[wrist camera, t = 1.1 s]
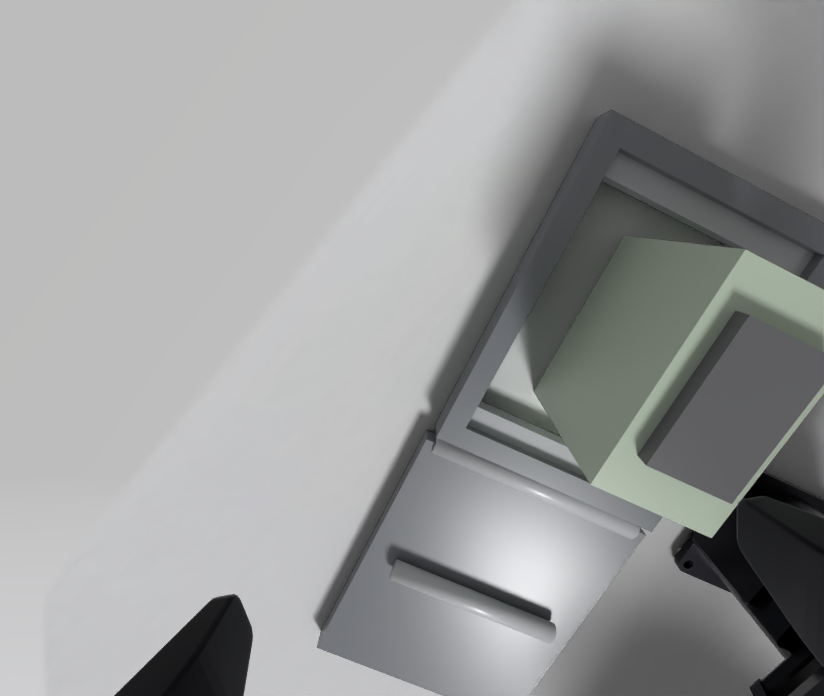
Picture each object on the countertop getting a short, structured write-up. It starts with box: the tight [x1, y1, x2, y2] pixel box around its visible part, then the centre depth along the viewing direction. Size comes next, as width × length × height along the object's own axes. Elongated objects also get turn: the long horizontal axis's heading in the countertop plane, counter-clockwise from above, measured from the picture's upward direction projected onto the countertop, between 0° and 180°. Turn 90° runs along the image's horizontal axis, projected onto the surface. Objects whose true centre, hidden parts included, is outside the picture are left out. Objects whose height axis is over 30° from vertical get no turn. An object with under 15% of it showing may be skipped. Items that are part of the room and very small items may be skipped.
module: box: [534, 236, 824, 538], centre depth 17 cm, size 4×8×9 cm, turn 155°
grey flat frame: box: [317, 110, 824, 696], centre depth 22 cm, size 12×30×2 cm, turn 155°
